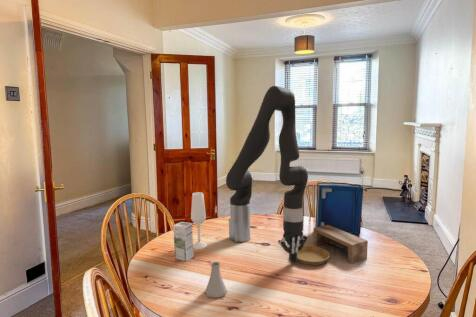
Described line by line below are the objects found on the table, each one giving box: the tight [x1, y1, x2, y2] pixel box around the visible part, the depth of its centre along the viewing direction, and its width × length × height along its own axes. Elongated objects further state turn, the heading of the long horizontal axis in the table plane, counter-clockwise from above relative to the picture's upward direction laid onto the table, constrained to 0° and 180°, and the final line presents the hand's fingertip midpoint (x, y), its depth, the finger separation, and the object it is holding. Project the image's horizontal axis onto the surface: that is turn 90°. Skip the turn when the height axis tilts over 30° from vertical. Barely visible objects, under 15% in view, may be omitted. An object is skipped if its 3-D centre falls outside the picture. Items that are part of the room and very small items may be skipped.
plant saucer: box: [296, 245, 330, 266], centre depth 125 cm, size 15×15×3 cm
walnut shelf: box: [312, 225, 369, 264], centre depth 131 cm, size 8×22×8 cm, turn 28°
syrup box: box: [173, 221, 194, 262], centre depth 126 cm, size 6×6×14 cm
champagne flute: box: [190, 191, 208, 250], centre depth 138 cm, size 7×7×24 cm
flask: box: [204, 261, 228, 299], centre depth 101 cm, size 7×7×10 cm
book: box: [314, 181, 364, 236], centre depth 151 cm, size 22×7×25 cm, turn 84°
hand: (292, 261), depth 120 cm, fingers closed
